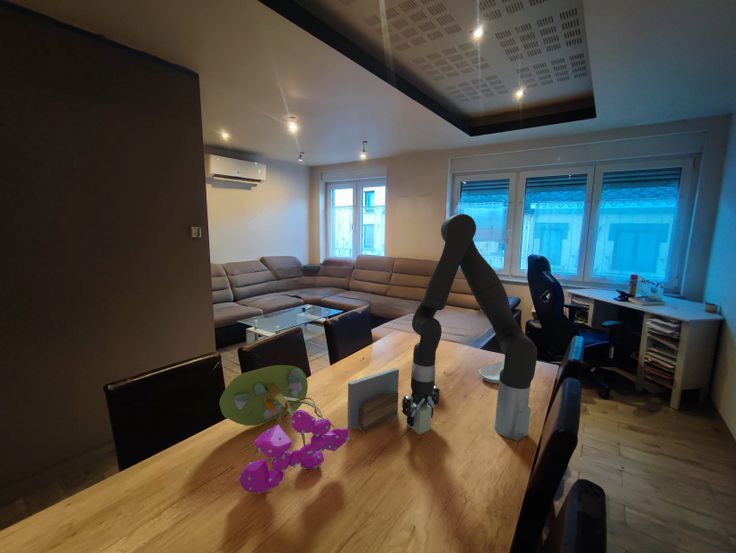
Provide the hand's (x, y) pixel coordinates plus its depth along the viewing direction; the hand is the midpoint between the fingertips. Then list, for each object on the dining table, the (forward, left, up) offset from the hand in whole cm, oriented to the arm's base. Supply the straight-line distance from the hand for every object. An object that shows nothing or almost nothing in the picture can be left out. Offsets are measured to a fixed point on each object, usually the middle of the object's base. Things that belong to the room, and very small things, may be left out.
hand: (420, 421), depth 106 cm
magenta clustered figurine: (+13, +42, -3) cm, 44 cm away
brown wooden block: (+10, +10, -3) cm, 14 cm away
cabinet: (+2, 0, -3) cm, 3 cm away
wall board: (+12, +10, -3) cm, 16 cm away
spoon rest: (+7, -57, -3) cm, 57 cm away
